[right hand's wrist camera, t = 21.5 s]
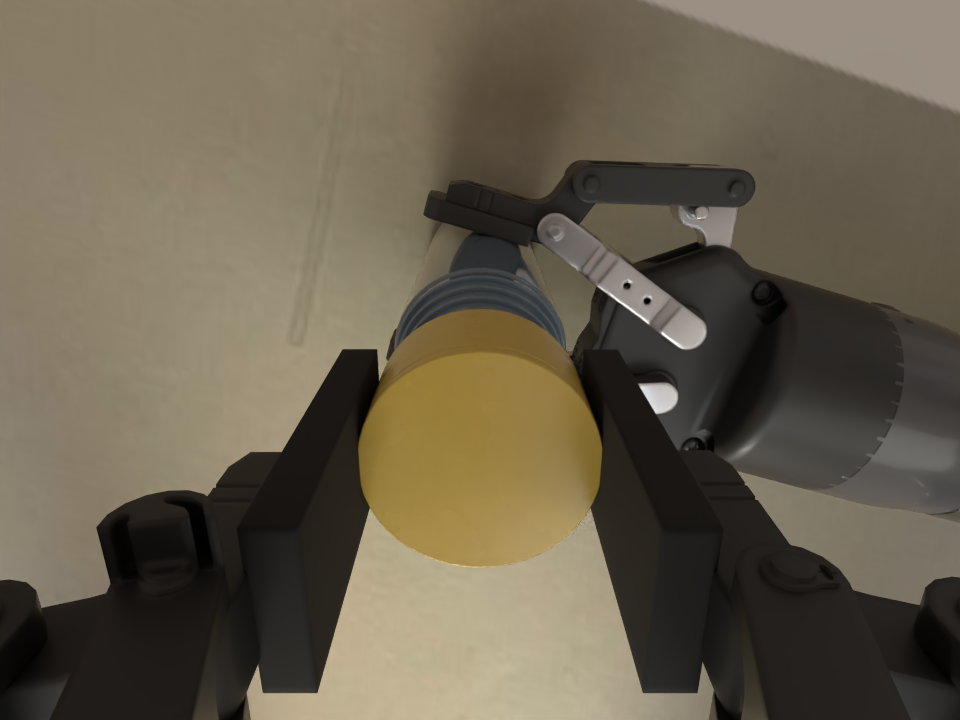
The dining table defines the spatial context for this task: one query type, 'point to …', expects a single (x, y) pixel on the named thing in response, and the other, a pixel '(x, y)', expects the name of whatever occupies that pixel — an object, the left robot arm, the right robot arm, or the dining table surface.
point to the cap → (480, 441)
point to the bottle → (478, 282)
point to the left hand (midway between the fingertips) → (410, 277)
